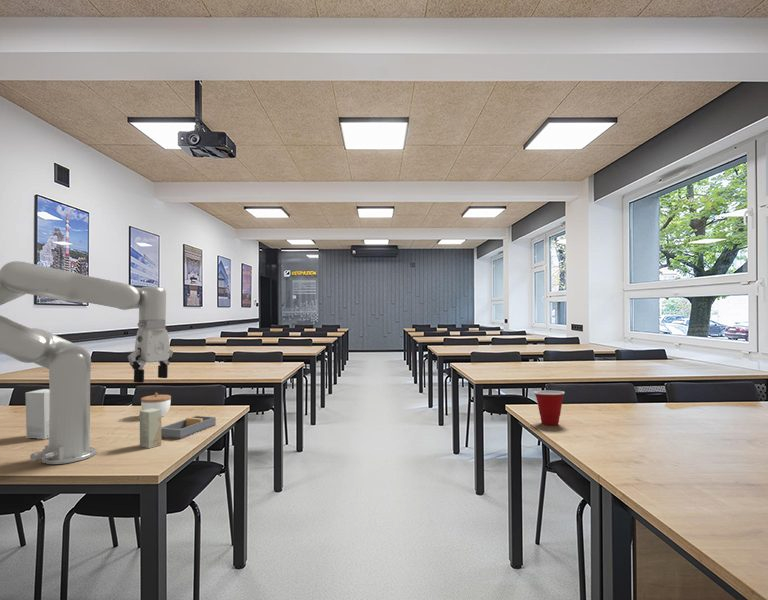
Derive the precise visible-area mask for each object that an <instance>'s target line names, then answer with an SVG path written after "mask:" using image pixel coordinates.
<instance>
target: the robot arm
mask: <svg viewBox="0 0 768 600" xmlns="http://www.w3.org/2000/svg"><path fill="white" fill-rule="evenodd" d="M26 294H27V295H32V296H38V297H43V298H49V299H54V300H60V301H65V302H71V303H72V302H73V303H75V302H76V303H85V304H86V303H87V304H93V305H98V306H104V307H110V308H115V309H119V310H123V311H124V310H125V311H127V310H135V309H138V322H137V327H138V330H137V332H136V336H135V343H134V351H133V352H131V353H130V354H128V355H127V359H128V362H129V365H130V366H131V368H132V370H133V383H138V384H139V383H141V384H142V383H144V382H145V369H144V366H145V365H146V364H147V363H156V362H157V363H158V364H159V365H158V366H157V378H159V379H167V378H168V376H169V375H168V372H169V370H168V366H170V362H171V360H172V357H173V354H174V351H173V350H171V349H170V339H169V333H168V330H167V329H166V324H167V323H166V316H167V313H166V311H167V291H166V289H165V288H164V287H160V286H143V287H135V286H134V285H132V284H129V283H128V284H127V283H123V282H119V281H115V280H114V281H113V280H110V279H105V278H99V277H94V276H89V275H86V274H82V273H80V272H79V273H78V272H73V271H69V270H63V269H58V268H54V267H49V266H46V265H45V266H44V265H40V264H35V263H31V262H25V261H20V260H19V261H15V260H14V261H10V262H7V263H5V264H4V265H3V266H2V267H1V268H0V306H3V305H4V304H7V303H9V302H11V301H14V300H16V299H18V298H20V297H23V296H25V295H26ZM0 353H1V354H3V355H6V356H7V357H10V358H11V359H14V360H16V361H18V362H21V363H24V364H25V363H26V364H27V363H29V364H31V363H33V364H36V365H37V366H38V365H39V366H40V367H42V368H45V369H48V381H49V383H48V384H49V385H48V386H49V389H50V398H49V405H50V410H49V438H48V444H47V445H44V448H43V449H42V450H41V451H37V452H33V453H31V454H30V456H29V457H30V460H31V461H32V462H34V461H37V460H40V459H41V463H43V464H45V463H46V465H61V464H63V465H64V464H70V463H75V462H80V461H83V460H86V459H89V458H91V457H93V456H94V455H95V454H96V453H97V449H96V448H95V447H93V446H90V443H91V442H90V439H91V438H90V437H91V436H90V435H91V428H90V427H91V370H92V358H91V354H90V353H89V351H88V350H87V349H86V348H85V347H83V346H81V345H80V344H79V345H78V344H76V343H73V342H71V341H69V340H67V339H64V338H62V337H60V336H58V335H56V334H53V333H52V332H49V331H48V330H47V331H46V330H45V329H40V328H30V327H28V326H26V325H23V324H20V323H18V322H16V321H14V320H11V319H10V318H8V317H6V316H3V315H1V314H0Z"/></svg>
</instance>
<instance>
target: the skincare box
mask: <svg viewBox="0 0 768 600" xmlns="http://www.w3.org/2000/svg"><path fill="white" fill-rule="evenodd" d="M24 395H25V426H26V429H25V431H26V438H27V437H28V438H27V439H30V438H37V439H36V440H48V439H49V410H50V405H49V398H50V388H42V389H36V390H32V391H28V392H27V391H26V392H25V394H24ZM47 438H48V439H47Z"/></svg>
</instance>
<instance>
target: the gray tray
mask: <svg viewBox="0 0 768 600" xmlns="http://www.w3.org/2000/svg"><path fill="white" fill-rule="evenodd" d="M190 418H202V419H203V421H201V422H199V423H196V424H193V425H190V426H188V427H186V418H185V419H182V420H179V421H176V422H174V423H171V424H168V425H164V426H161V439H171V438H173V439H174V440H182V439H184V437H185V438H187V437H189V435H190V436H192V435H194V433H195V434H197V433H200V432H202V430H203V431H206V430H207V428H208V429H209V428H212V426H213V427H215V426H216V422H217V421H216V418H217V417H216V416H203V415H195V416H192V417H191V416H190ZM199 431H200V432H199ZM196 432H197V433H196ZM191 434H192V435H191ZM186 436H187V437H186ZM173 439H172V440H173Z"/></svg>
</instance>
